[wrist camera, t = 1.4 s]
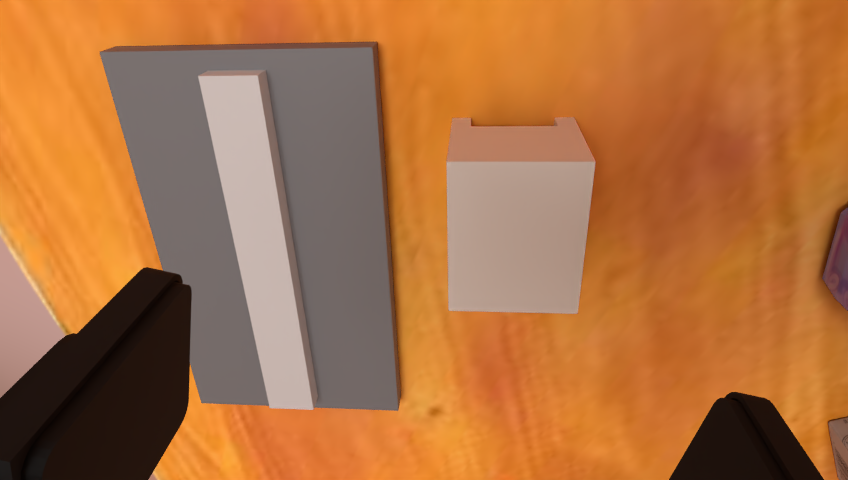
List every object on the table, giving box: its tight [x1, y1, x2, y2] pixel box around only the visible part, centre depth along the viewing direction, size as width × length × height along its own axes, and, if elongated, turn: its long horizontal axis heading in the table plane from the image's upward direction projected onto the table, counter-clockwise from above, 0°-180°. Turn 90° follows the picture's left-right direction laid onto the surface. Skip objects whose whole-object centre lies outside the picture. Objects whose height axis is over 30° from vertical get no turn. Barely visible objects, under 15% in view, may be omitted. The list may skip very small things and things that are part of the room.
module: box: [447, 117, 596, 314], centre depth 30 cm, size 6×8×6 cm
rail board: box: [100, 42, 401, 411], centre depth 35 cm, size 14×24×3 cm, turn 2°
